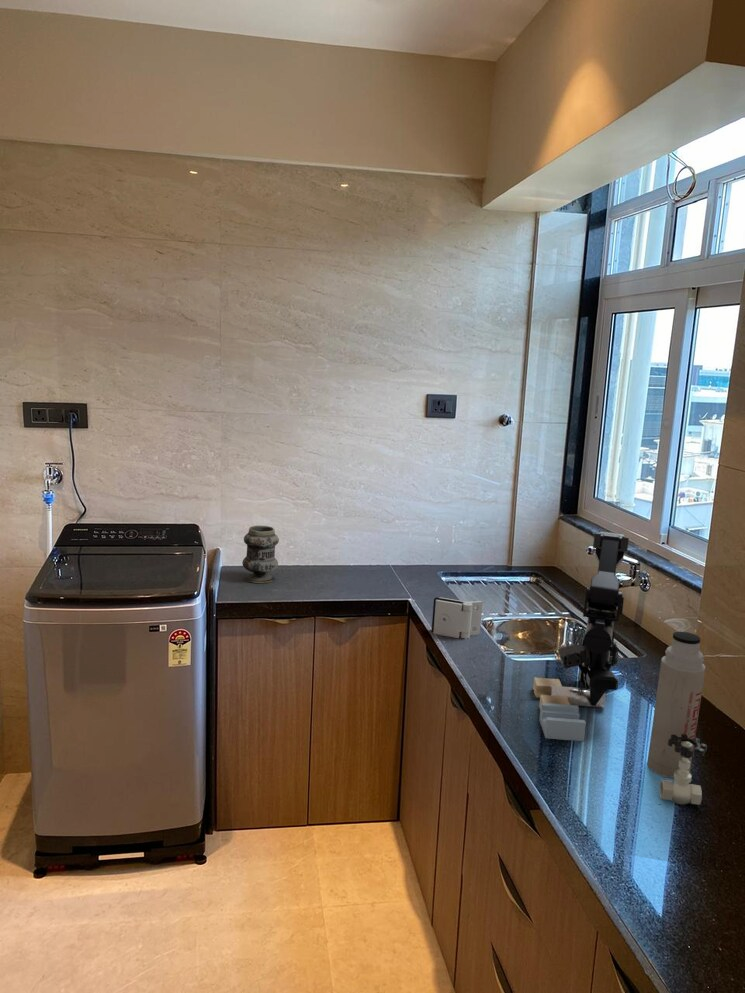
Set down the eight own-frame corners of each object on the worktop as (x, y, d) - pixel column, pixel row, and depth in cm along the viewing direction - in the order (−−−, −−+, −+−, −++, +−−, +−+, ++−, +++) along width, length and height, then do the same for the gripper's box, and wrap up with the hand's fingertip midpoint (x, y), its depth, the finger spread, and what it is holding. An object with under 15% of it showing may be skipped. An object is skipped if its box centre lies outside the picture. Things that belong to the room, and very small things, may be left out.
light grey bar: (600, 702, 176) (602, 686, 175) (604, 710, 172) (606, 694, 171) (549, 698, 176) (550, 682, 175) (551, 706, 172) (553, 690, 172)
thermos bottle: (698, 773, 147) (719, 640, 142) (670, 782, 143) (690, 645, 138) (666, 754, 154) (684, 625, 149) (638, 761, 150) (656, 630, 145)
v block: (575, 722, 165) (577, 705, 164) (583, 741, 157) (585, 722, 156) (539, 720, 166) (541, 702, 165) (545, 738, 158) (547, 719, 157)
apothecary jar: (274, 585, 249) (276, 533, 245) (238, 583, 249) (240, 531, 245) (279, 575, 261) (281, 525, 257) (245, 573, 261) (246, 523, 257)
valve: (701, 816, 133) (711, 754, 131) (663, 809, 134) (671, 748, 132) (693, 795, 140) (702, 736, 137) (656, 789, 141) (665, 731, 139)
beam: (557, 690, 181) (559, 679, 180) (569, 718, 167) (570, 705, 167) (532, 688, 181) (534, 677, 181) (542, 716, 167) (543, 703, 167)
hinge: (479, 634, 216) (482, 601, 214) (479, 641, 210) (482, 607, 209) (431, 629, 217) (434, 596, 215) (430, 636, 212) (433, 602, 210)
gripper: (556, 620, 180) (549, 680, 183) (570, 650, 162) (563, 717, 165) (602, 624, 180) (595, 684, 183) (622, 654, 161) (614, 721, 164)
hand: (591, 700), depth 174 cm, fingers closed on light grey bar, 4 cm apart
